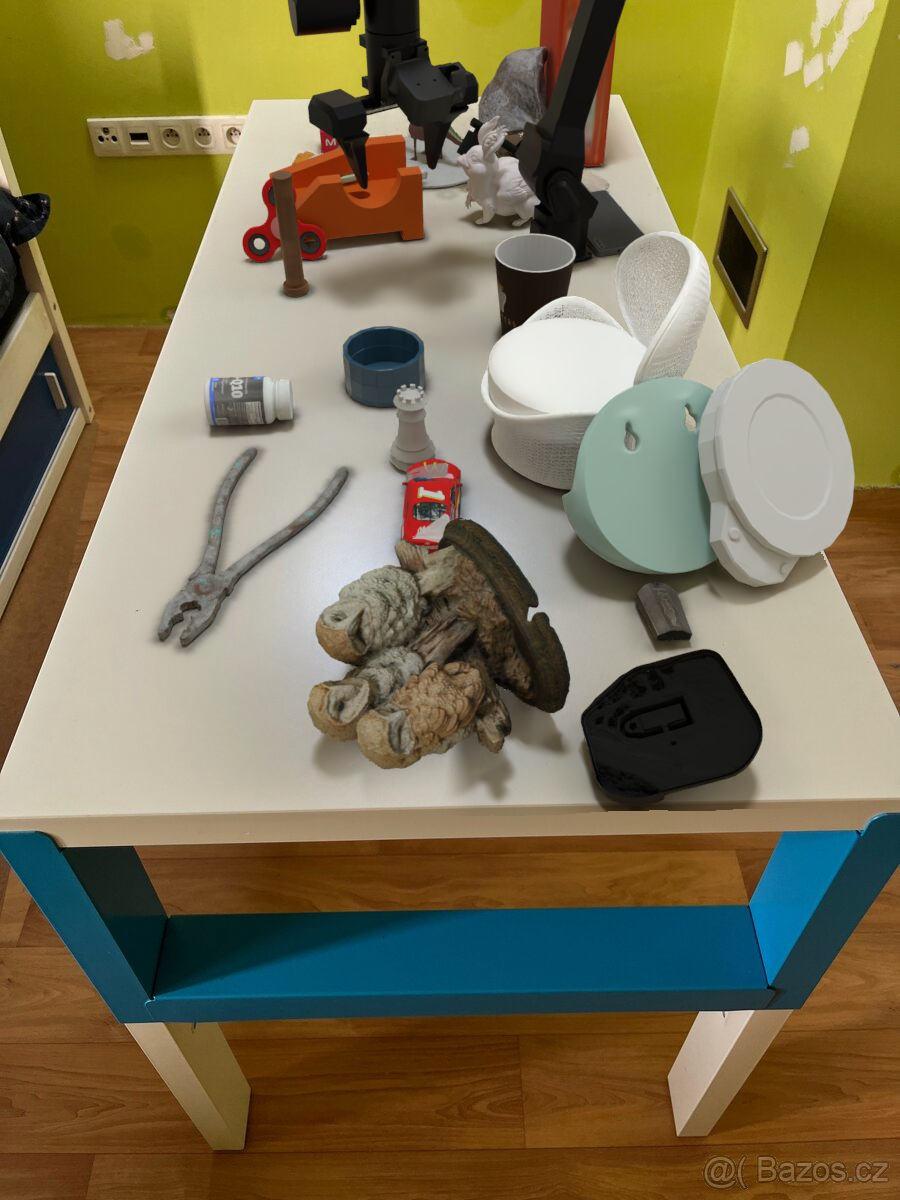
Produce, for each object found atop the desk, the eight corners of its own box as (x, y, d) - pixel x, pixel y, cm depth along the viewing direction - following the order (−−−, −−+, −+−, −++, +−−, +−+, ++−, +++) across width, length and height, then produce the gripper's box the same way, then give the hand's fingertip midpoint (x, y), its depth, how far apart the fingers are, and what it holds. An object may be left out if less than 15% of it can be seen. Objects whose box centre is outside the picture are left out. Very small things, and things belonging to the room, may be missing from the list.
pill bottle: (205, 368, 99) (290, 366, 100) (213, 407, 103) (294, 404, 103) (201, 396, 96) (288, 393, 97) (209, 435, 100) (293, 432, 100)
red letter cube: (321, 144, 150) (319, 124, 148) (341, 143, 150) (339, 123, 148) (321, 152, 148) (319, 132, 146) (341, 151, 148) (340, 131, 146)
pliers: (250, 450, 98) (114, 626, 82) (249, 444, 98) (111, 620, 81) (351, 472, 96) (232, 658, 79) (350, 465, 95) (230, 651, 79)
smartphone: (555, 202, 135) (597, 257, 125) (556, 196, 134) (598, 250, 125) (605, 195, 136) (651, 248, 127) (606, 189, 135) (652, 242, 126)
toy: (245, 261, 125) (244, 263, 124) (234, 177, 119) (233, 179, 119) (328, 258, 125) (327, 260, 124) (320, 174, 120) (320, 175, 119)
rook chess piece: (442, 451, 98) (441, 383, 92) (426, 479, 95) (424, 409, 89) (400, 442, 99) (396, 374, 93) (383, 469, 96) (378, 400, 90)
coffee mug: (563, 360, 109) (570, 276, 102) (486, 352, 110) (488, 268, 103) (575, 306, 117) (583, 225, 110) (503, 299, 118) (506, 218, 111)
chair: (480, 380, 106) (484, 196, 91) (666, 383, 105) (700, 198, 91) (478, 502, 92) (482, 308, 78) (692, 506, 92) (736, 311, 77)
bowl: (404, 355, 110) (403, 318, 106) (438, 394, 105) (437, 357, 101) (334, 374, 107) (330, 338, 104) (365, 415, 102) (362, 378, 99)
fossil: (453, 137, 147) (509, 172, 151) (479, 134, 135) (538, 172, 139) (503, 36, 144) (558, 75, 148) (533, 23, 131) (593, 66, 135)
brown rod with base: (303, 282, 121) (289, 167, 111) (312, 293, 119) (299, 177, 109) (280, 288, 120) (264, 172, 110) (289, 299, 118) (273, 182, 108)
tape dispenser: (404, 196, 137) (401, 134, 131) (423, 238, 128) (422, 173, 122) (274, 210, 134) (265, 147, 128) (285, 253, 126) (276, 188, 120)
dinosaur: (342, 168, 143) (335, 88, 136) (415, 128, 154) (413, 51, 146) (443, 199, 136) (442, 116, 128) (513, 154, 147) (516, 76, 139)
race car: (408, 474, 95) (406, 440, 93) (464, 475, 95) (464, 442, 92) (395, 569, 86) (392, 535, 83) (457, 571, 86) (457, 537, 83)
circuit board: (462, 139, 147) (460, 148, 148) (512, 159, 146) (510, 167, 147) (481, 116, 151) (479, 124, 152) (529, 134, 151) (527, 142, 152)
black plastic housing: (777, 762, 66) (776, 788, 70) (729, 639, 72) (730, 670, 76) (604, 809, 68) (612, 831, 72) (569, 684, 73) (579, 712, 77)
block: (653, 648, 80) (656, 633, 78) (630, 596, 84) (633, 580, 82) (696, 642, 80) (700, 627, 79) (671, 590, 84) (675, 575, 83)
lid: (664, 533, 79) (692, 527, 76) (718, 330, 85) (746, 318, 83) (800, 623, 87) (830, 620, 84) (840, 431, 93) (869, 422, 90)
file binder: (548, 167, 143) (566, -98, 120) (533, 121, 155) (547, -128, 132) (603, 166, 144) (631, -99, 121) (585, 120, 156) (607, -129, 132)
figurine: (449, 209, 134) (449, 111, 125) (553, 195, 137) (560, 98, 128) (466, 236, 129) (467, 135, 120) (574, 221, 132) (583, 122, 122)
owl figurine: (596, 667, 65) (367, 787, 60) (570, 742, 75) (371, 850, 70) (457, 481, 73) (244, 572, 68) (449, 571, 83) (263, 656, 78)
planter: (729, 542, 94) (683, 374, 92) (783, 536, 87) (735, 355, 85) (565, 604, 87) (512, 423, 85) (611, 603, 80) (554, 407, 78)
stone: (618, 176, 136) (617, 190, 138) (548, 145, 144) (548, 158, 145) (576, 197, 133) (576, 212, 135) (508, 165, 141) (508, 178, 142)
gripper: (354, 67, 94) (364, 226, 105) (511, 31, 101) (505, 183, 112) (298, 35, 100) (313, 188, 112) (449, 3, 108) (450, 150, 119)
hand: (398, 178), depth 113 cm, fingers open, 9 cm apart
